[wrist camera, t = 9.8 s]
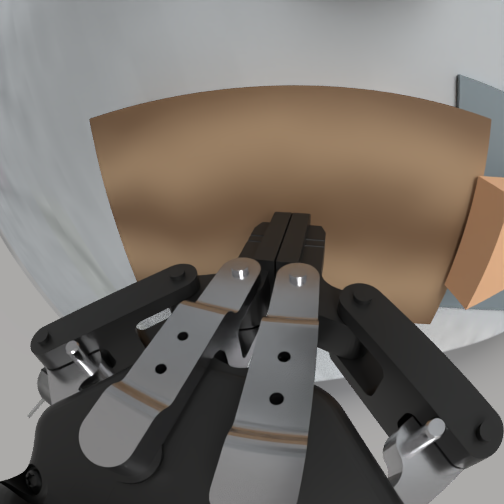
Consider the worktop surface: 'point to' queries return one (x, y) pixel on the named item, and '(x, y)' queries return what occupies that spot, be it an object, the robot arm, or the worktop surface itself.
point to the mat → (498, 158)
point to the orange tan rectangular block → (481, 247)
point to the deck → (297, 181)
